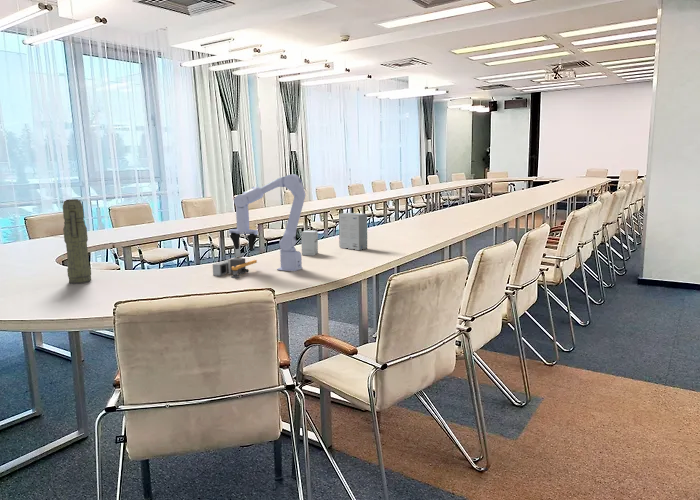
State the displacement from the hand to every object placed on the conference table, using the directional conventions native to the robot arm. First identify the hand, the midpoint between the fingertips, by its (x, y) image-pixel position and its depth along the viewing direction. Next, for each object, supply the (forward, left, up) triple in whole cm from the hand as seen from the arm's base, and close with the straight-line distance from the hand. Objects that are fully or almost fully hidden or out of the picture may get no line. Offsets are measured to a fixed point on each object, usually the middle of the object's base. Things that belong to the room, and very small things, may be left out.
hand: (244, 249), depth 246 cm
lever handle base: (-6, +16, -9) cm, 19 cm away
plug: (-3, +9, -9) cm, 13 cm away
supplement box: (-12, -44, -10) cm, 47 cm away
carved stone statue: (+52, +46, -10) cm, 71 cm away
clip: (-6, +8, -6) cm, 12 cm away
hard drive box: (-27, -70, -10) cm, 75 cm away
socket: (+4, +9, -9) cm, 13 cm away
